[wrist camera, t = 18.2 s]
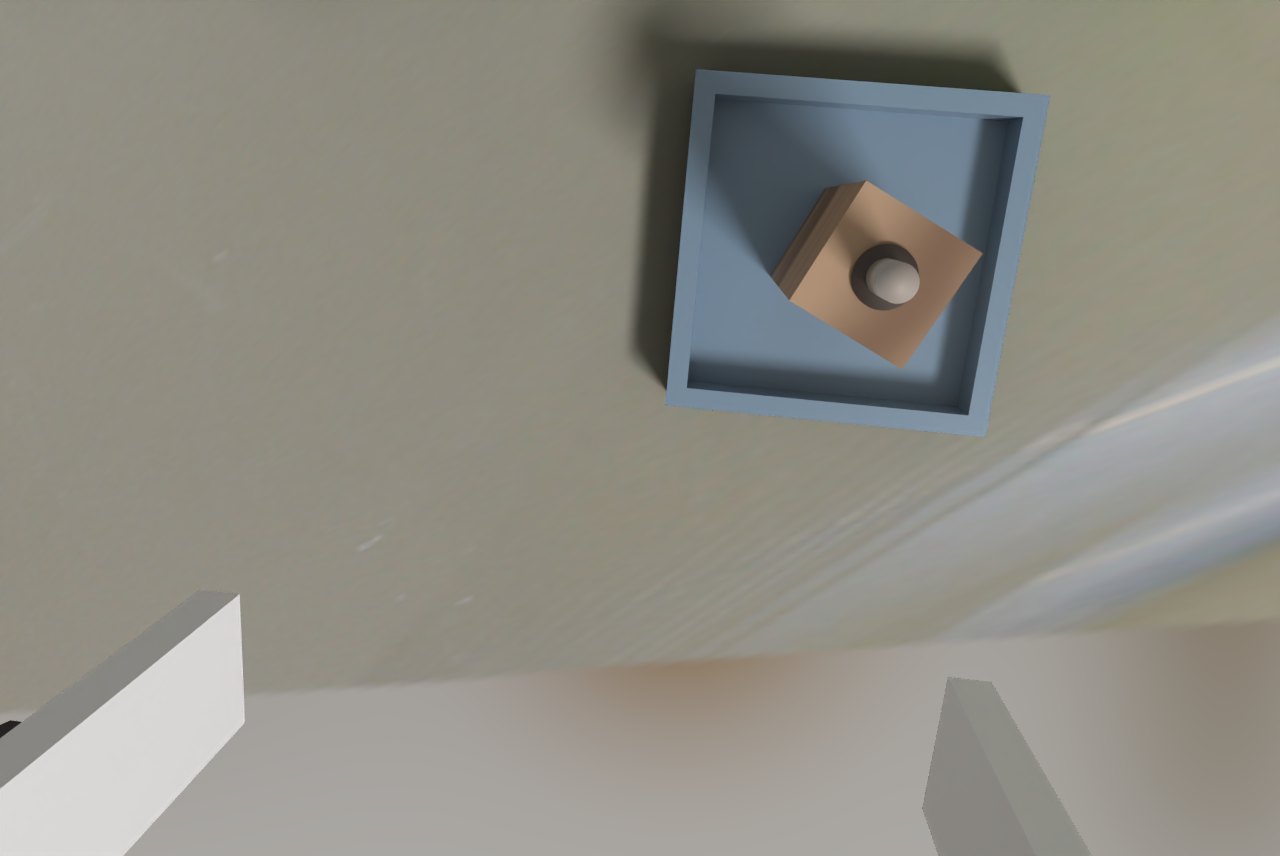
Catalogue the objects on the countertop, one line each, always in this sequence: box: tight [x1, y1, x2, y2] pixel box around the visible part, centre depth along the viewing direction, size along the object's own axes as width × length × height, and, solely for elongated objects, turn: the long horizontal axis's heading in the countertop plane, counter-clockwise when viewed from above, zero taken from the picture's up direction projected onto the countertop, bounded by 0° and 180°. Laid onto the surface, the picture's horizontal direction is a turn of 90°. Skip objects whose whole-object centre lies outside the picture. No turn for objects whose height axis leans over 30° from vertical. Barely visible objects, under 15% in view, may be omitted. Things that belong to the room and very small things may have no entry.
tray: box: [665, 69, 1050, 437], centre depth 43 cm, size 16×16×3 cm
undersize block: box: [770, 181, 983, 369], centre depth 36 cm, size 5×5×14 cm
